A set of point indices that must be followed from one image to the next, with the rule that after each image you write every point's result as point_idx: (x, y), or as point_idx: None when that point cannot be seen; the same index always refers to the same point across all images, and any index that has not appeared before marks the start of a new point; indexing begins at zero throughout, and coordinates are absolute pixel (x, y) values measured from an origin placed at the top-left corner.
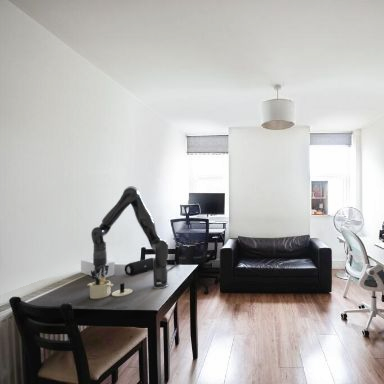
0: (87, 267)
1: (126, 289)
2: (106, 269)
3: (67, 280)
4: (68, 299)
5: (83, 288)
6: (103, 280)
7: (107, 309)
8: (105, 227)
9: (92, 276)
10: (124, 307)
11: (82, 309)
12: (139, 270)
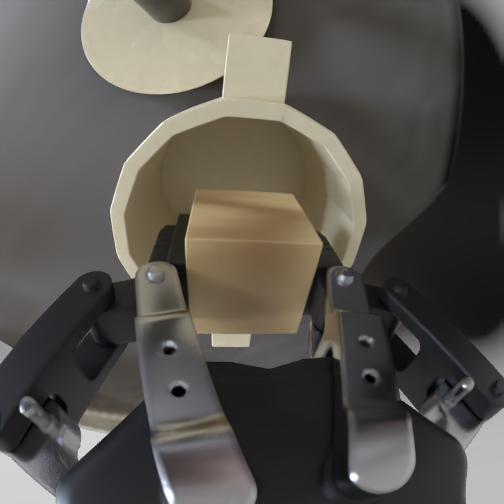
0: None
1: (99, 19)
2: (54, 372)
3: (97, 421)
4: (291, 333)
5: (129, 360)
6: (239, 209)
7: (460, 21)
8: None
9: (410, 354)
10: None
11: (452, 163)
12: None
